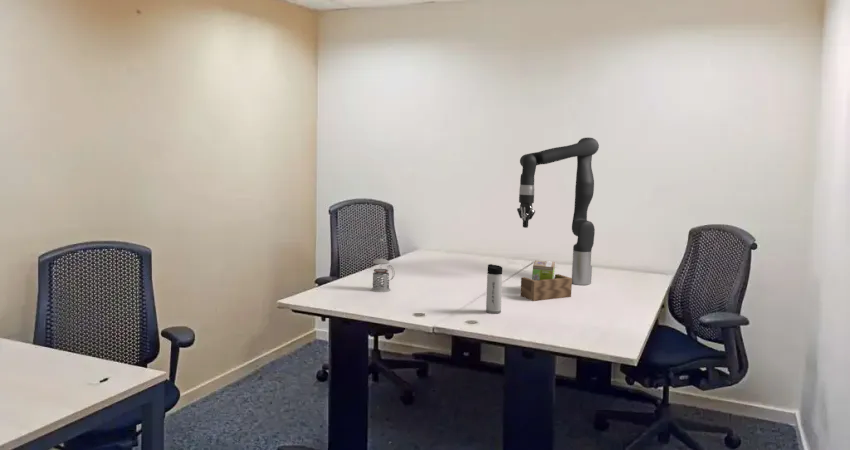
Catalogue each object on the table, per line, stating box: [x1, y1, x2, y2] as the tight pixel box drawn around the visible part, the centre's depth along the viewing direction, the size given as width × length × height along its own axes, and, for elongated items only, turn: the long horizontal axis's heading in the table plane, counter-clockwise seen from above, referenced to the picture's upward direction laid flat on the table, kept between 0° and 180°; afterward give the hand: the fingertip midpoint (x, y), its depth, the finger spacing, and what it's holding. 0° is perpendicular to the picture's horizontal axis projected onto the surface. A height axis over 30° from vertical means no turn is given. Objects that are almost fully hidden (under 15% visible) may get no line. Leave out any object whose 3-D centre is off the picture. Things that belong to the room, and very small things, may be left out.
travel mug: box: [485, 263, 503, 315], centre depth 269 cm, size 6×7×20 cm
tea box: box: [531, 260, 556, 281], centre depth 307 cm, size 15×10×15 cm
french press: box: [370, 238, 395, 293], centre depth 305 cm, size 10×12×25 cm
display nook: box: [520, 273, 573, 302], centre depth 300 cm, size 22×10×9 cm, turn 118°
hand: (525, 227), depth 326 cm, fingers closed
